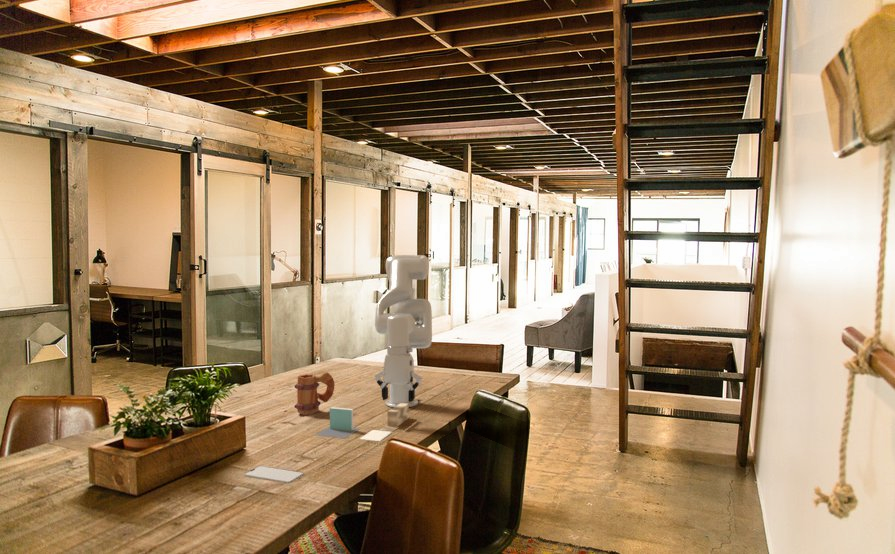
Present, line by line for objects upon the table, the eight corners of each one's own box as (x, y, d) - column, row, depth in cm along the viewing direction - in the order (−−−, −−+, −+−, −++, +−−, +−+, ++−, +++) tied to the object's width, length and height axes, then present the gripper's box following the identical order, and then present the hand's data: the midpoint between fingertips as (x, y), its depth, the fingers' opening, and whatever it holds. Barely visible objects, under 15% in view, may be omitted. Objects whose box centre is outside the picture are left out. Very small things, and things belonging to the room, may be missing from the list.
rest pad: (372, 432, 204) (372, 429, 204) (392, 434, 202) (392, 431, 202) (359, 441, 194) (359, 438, 194) (379, 443, 192) (379, 440, 192)
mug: (294, 417, 222) (294, 376, 221) (294, 411, 229) (293, 372, 229) (335, 414, 225) (335, 374, 225) (333, 409, 233) (333, 370, 233)
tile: (332, 427, 207) (331, 407, 207) (353, 429, 205) (353, 409, 204) (329, 428, 206) (329, 408, 205) (351, 431, 203) (351, 410, 203)
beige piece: (398, 419, 220) (398, 402, 220) (411, 420, 218) (411, 403, 218) (379, 432, 204) (379, 414, 204) (393, 433, 203) (393, 415, 202)
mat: (332, 426, 210) (332, 424, 210) (361, 429, 207) (361, 427, 207) (314, 436, 199) (314, 435, 199) (344, 440, 195) (344, 438, 195)
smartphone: (289, 482, 160) (242, 474, 165) (289, 485, 160) (242, 477, 165) (305, 472, 167) (259, 465, 172) (305, 475, 167) (259, 467, 172)
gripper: (425, 350, 213) (425, 399, 213) (379, 348, 218) (379, 396, 218) (417, 353, 206) (417, 404, 206) (370, 351, 211) (370, 400, 211)
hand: (398, 400), depth 212 cm, fingers open, 9 cm apart
